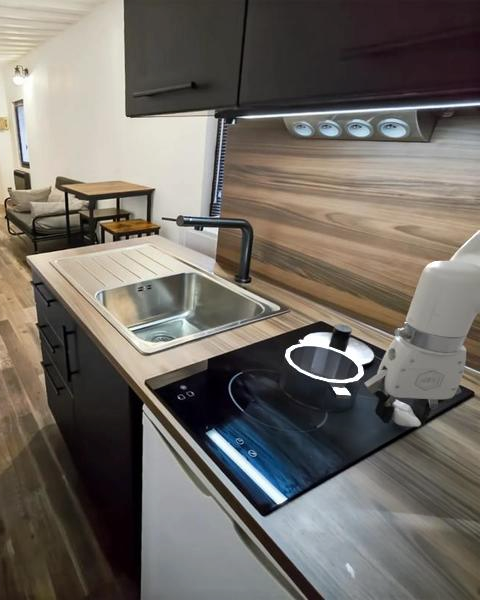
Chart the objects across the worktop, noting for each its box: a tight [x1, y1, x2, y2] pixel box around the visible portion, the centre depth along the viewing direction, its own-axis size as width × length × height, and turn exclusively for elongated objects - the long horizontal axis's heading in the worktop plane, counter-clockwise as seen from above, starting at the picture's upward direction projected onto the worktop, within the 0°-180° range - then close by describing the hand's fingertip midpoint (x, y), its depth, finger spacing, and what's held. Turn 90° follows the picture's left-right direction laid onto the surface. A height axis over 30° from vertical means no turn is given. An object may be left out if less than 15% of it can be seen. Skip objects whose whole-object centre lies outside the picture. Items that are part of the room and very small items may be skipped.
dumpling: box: [386, 395, 421, 428], centre depth 67 cm, size 7×5×4 cm
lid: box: [303, 323, 375, 367], centre depth 89 cm, size 15×15×7 cm
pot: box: [278, 339, 365, 414], centre depth 77 cm, size 14×19×8 cm
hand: (399, 418), depth 68 cm, fingers closed on dumpling, 4 cm apart
